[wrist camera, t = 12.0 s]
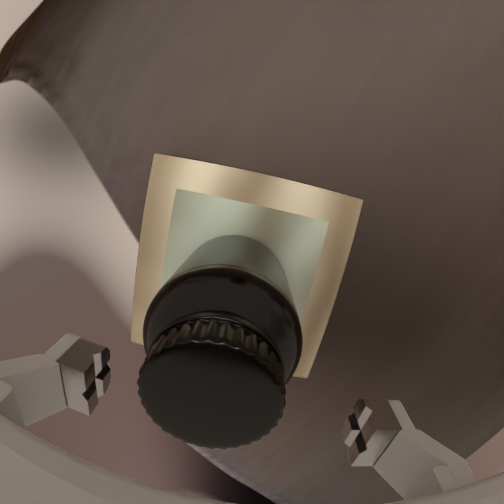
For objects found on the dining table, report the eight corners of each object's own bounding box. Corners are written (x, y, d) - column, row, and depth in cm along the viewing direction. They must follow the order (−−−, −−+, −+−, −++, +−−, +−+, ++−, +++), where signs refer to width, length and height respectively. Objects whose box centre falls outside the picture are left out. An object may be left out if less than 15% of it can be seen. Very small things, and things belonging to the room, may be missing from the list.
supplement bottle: (306, 276, 20) (365, 390, 8) (241, 345, 21) (232, 485, 10) (225, 209, 19) (180, 256, 7) (164, 287, 20) (80, 398, 9)
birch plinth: (349, 197, 22) (364, 200, 19) (302, 358, 25) (307, 379, 22) (167, 156, 21) (153, 153, 18) (142, 324, 24) (130, 342, 21)
